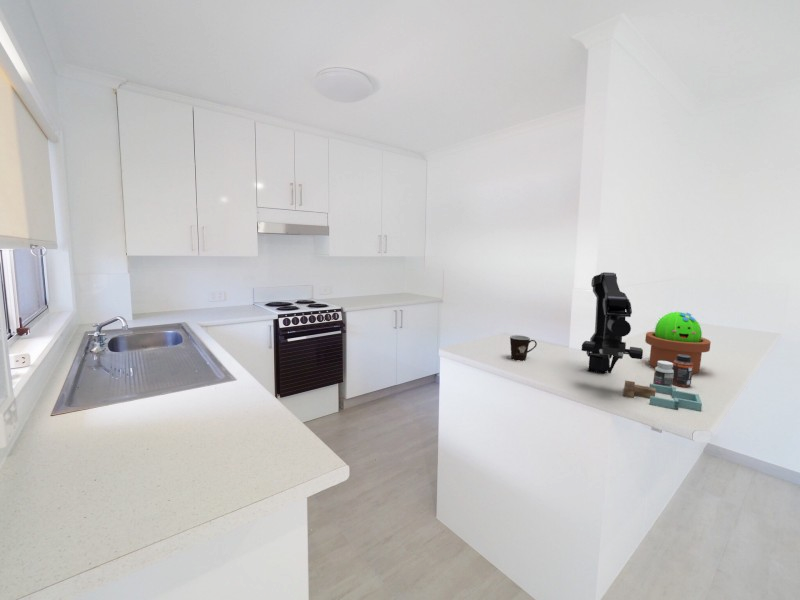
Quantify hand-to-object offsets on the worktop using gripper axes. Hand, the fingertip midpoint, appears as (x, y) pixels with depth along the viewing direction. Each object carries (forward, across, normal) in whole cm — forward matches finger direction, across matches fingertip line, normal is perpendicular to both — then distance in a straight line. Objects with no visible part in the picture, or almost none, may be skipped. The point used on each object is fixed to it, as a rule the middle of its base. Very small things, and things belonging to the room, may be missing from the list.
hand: (609, 372), depth 133 cm
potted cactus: (+6, +22, +45) cm, 50 cm away
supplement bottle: (+6, +22, +21) cm, 31 cm away
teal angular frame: (+6, +20, 0) cm, 20 cm away
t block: (+6, +10, 0) cm, 11 cm away
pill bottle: (+6, +16, +12) cm, 21 cm away
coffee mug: (+6, -36, +19) cm, 41 cm away
